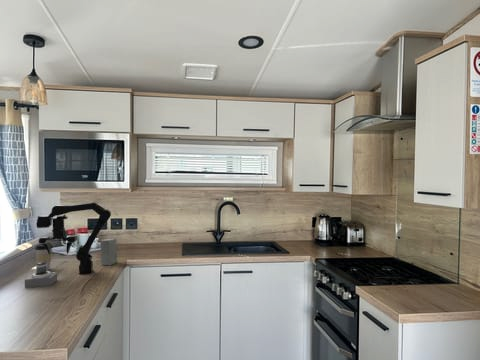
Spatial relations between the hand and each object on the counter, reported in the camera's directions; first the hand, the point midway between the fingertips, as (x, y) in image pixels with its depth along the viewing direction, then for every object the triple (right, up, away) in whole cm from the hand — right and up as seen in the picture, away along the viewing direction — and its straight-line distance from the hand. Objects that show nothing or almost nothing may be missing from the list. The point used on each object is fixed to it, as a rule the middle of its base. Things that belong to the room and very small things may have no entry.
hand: (58, 254), depth 181 cm
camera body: (-1, -12, -14) cm, 18 cm away
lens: (-1, -8, -14) cm, 16 cm away
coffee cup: (-15, -12, +11) cm, 23 cm away
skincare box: (+19, -12, +23) cm, 32 cm away
